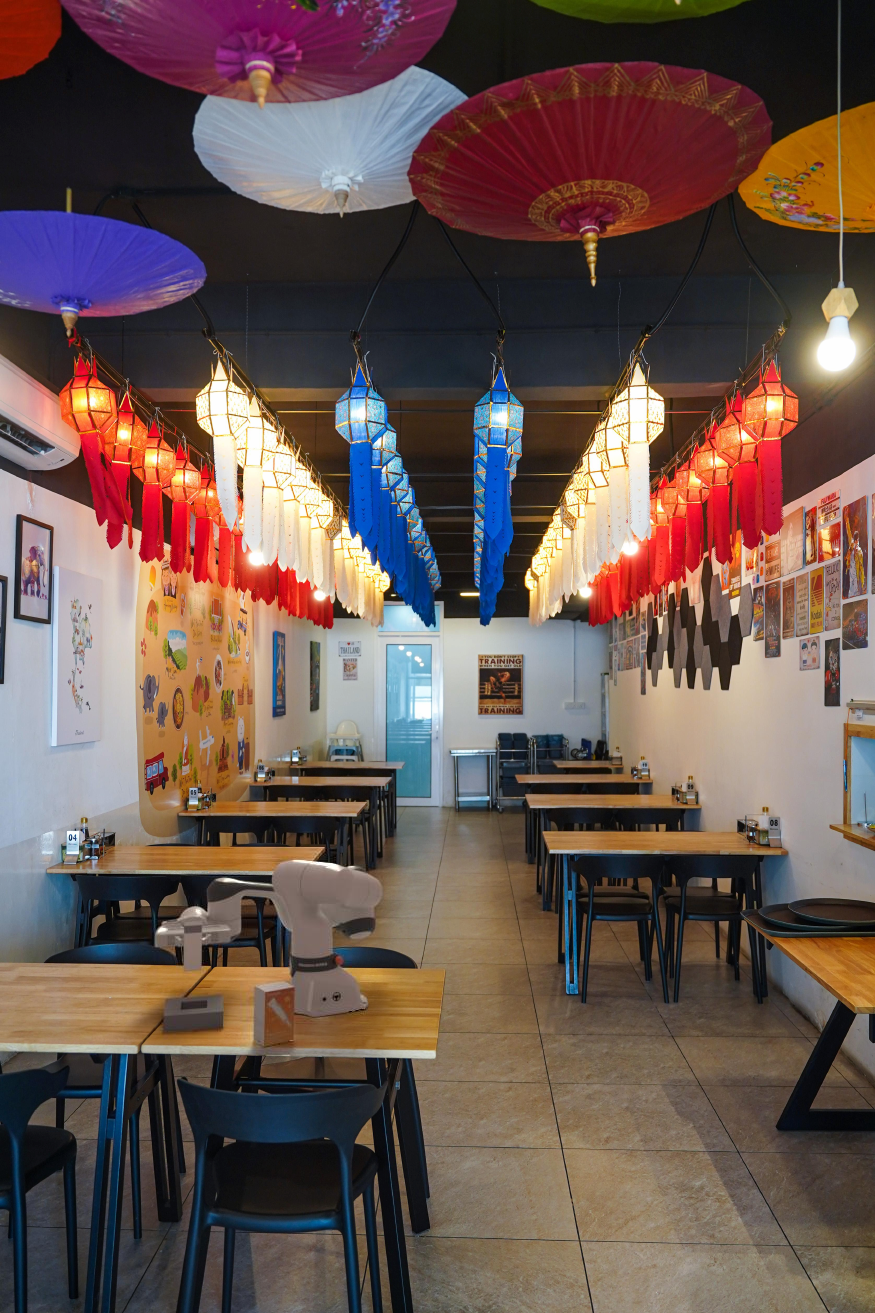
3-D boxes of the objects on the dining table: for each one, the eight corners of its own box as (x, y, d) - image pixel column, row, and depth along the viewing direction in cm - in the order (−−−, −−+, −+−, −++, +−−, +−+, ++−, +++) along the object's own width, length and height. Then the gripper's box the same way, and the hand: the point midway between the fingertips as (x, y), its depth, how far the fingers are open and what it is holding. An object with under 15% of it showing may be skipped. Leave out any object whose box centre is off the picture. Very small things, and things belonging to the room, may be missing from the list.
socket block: (222, 1010, 239) (222, 994, 240) (223, 1027, 225) (223, 1011, 226) (165, 1014, 236) (166, 998, 236) (163, 1032, 222) (163, 1016, 222)
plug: (201, 965, 242) (202, 921, 243) (201, 970, 237) (202, 925, 238) (183, 967, 241) (184, 922, 241) (183, 971, 236) (184, 926, 237)
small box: (263, 1048, 211) (264, 992, 212) (252, 1040, 216) (253, 985, 217) (294, 1041, 216) (295, 986, 217) (282, 1033, 221) (283, 980, 222)
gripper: (230, 939, 254) (232, 952, 241) (156, 944, 249) (153, 957, 236) (231, 917, 255) (232, 928, 241) (156, 922, 249) (153, 933, 236)
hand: (192, 943), depth 238 cm, fingers closed on plug, 5 cm apart
